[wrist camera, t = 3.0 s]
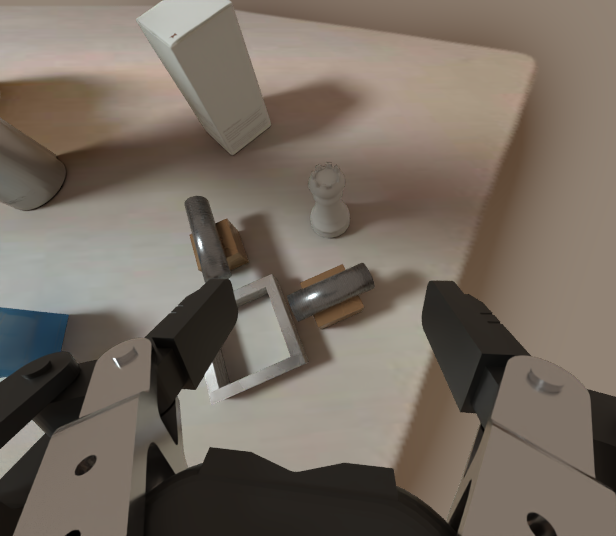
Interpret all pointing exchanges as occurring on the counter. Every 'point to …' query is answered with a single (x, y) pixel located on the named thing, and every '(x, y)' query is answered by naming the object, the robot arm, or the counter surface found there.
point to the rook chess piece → (328, 201)
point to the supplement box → (209, 67)
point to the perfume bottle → (28, 337)
